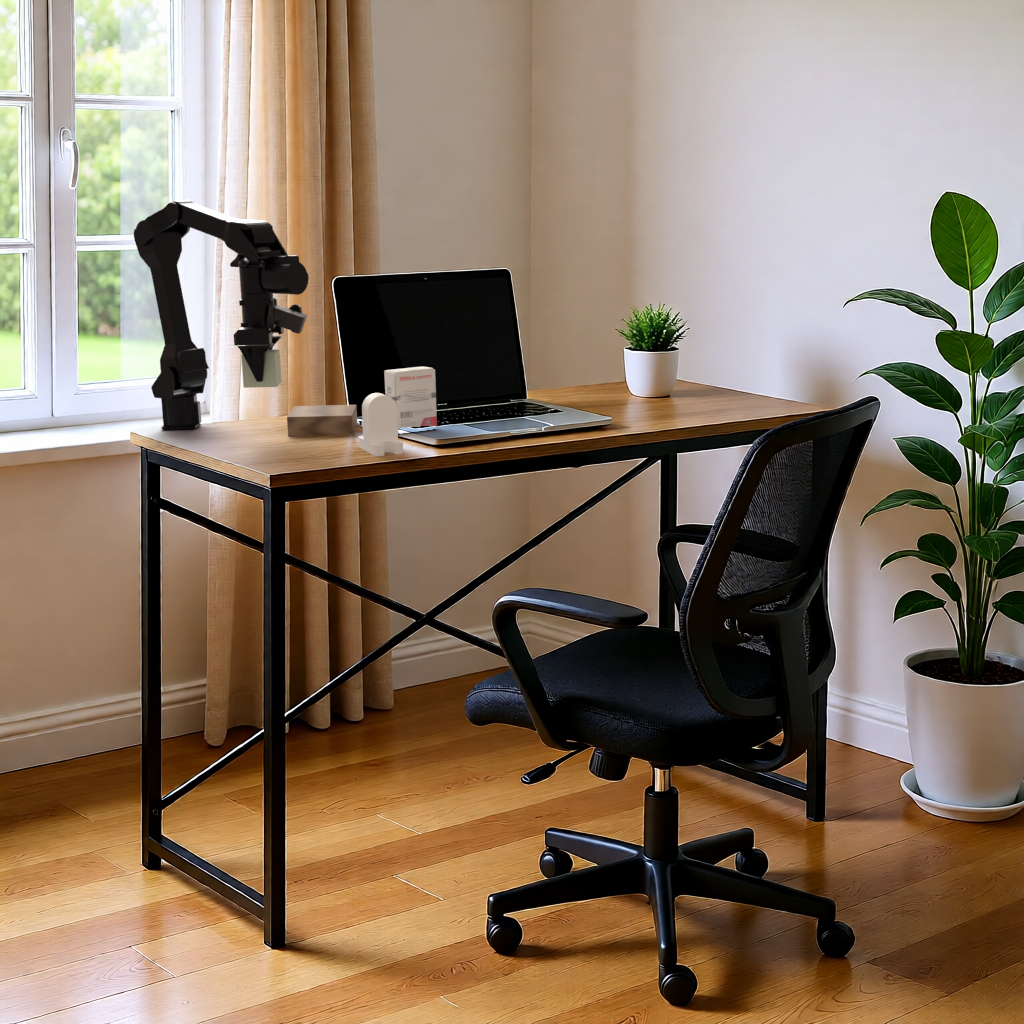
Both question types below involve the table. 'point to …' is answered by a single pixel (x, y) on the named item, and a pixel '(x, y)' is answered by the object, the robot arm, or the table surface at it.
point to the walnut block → (322, 420)
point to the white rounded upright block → (380, 426)
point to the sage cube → (270, 371)
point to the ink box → (413, 395)
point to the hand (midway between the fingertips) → (262, 378)
